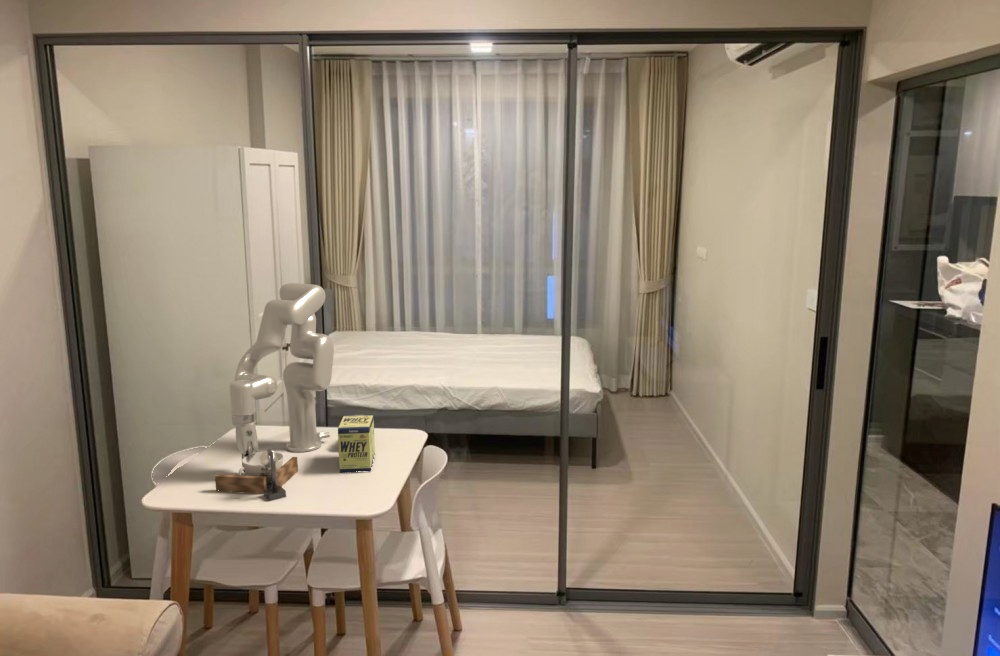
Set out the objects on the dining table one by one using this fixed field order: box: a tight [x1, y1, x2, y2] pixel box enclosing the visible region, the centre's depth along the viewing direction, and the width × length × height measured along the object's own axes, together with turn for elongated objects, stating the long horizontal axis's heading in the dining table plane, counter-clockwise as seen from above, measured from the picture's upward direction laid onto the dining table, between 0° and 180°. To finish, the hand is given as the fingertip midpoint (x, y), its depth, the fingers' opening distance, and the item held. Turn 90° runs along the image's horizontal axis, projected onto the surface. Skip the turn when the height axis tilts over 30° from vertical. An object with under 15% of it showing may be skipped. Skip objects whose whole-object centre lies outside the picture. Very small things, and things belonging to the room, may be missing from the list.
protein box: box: [337, 413, 376, 474], centre depth 243 cm, size 10×16×16 cm
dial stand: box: [260, 449, 287, 502], centre depth 218 cm, size 5×6×14 cm
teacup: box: [238, 451, 284, 485], centre depth 228 cm, size 15×12×8 cm
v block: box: [214, 456, 299, 495], centre depth 226 cm, size 27×12×5 cm, turn 127°
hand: (248, 470), depth 236 cm, fingers closed
